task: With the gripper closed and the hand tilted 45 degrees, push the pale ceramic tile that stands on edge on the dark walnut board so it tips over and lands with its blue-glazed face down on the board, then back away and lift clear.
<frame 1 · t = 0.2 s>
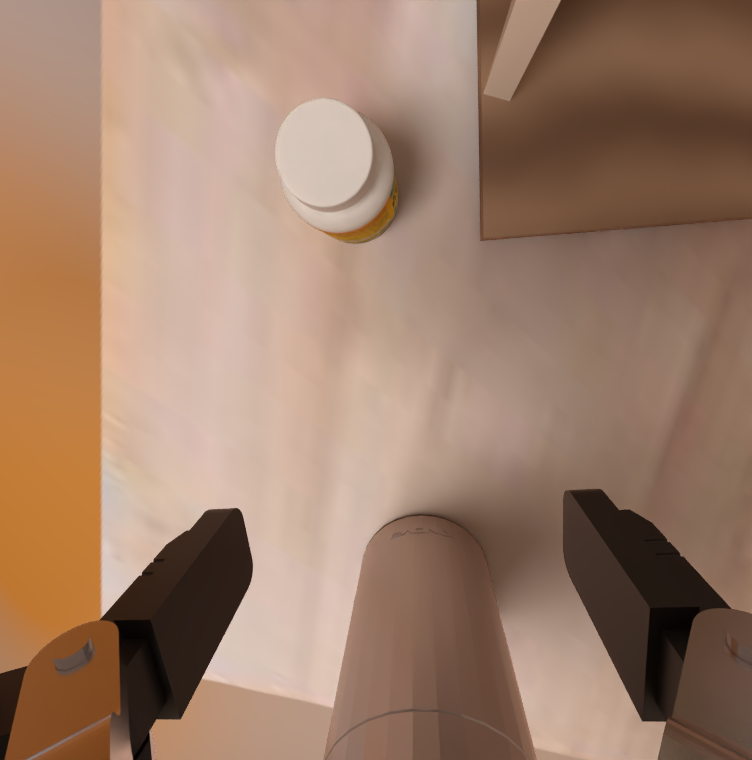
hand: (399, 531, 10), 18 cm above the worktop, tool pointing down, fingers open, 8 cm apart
supplement bottle: (356, 200, 26), on the worktop
board: (648, 11, 22), on the worktop
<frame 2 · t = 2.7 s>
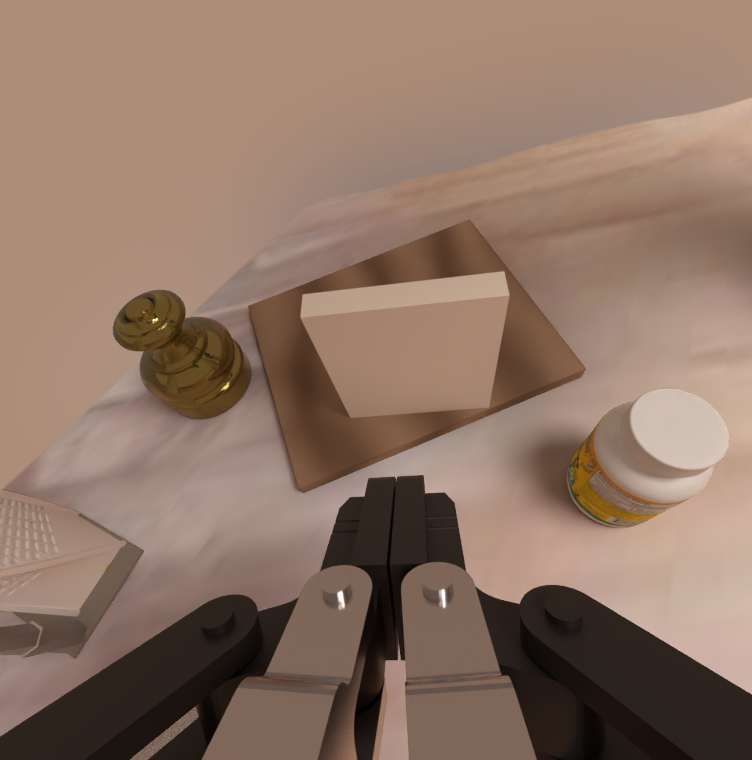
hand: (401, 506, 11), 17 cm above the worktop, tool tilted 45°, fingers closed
brass knob: (213, 382, 36), on the worktop
supplement bottle: (607, 486, 27), on the worktop
board: (398, 342, 35), on the worktop
skyscraper: (80, 567, 30), on the worktop
tile: (417, 403, 31), point 1 cm above the worktop, touching board
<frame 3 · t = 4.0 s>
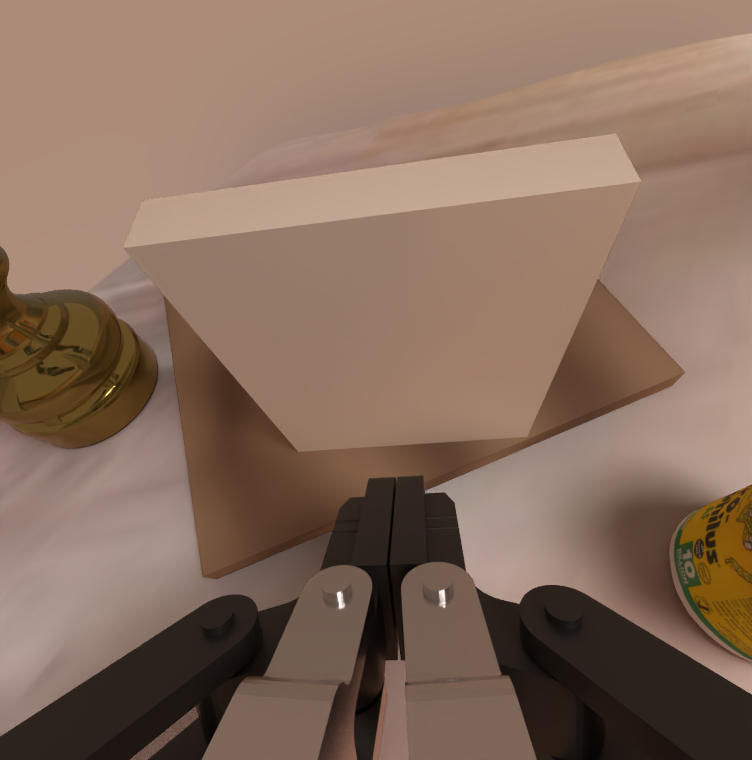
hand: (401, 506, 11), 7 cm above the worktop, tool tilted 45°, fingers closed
brass knob: (101, 391, 24), on the worktop
supplement bottle: (742, 580, 15), on the worktop
board: (380, 330, 23), on the worktop
tile: (408, 428, 19), point 1 cm above the worktop, touching board
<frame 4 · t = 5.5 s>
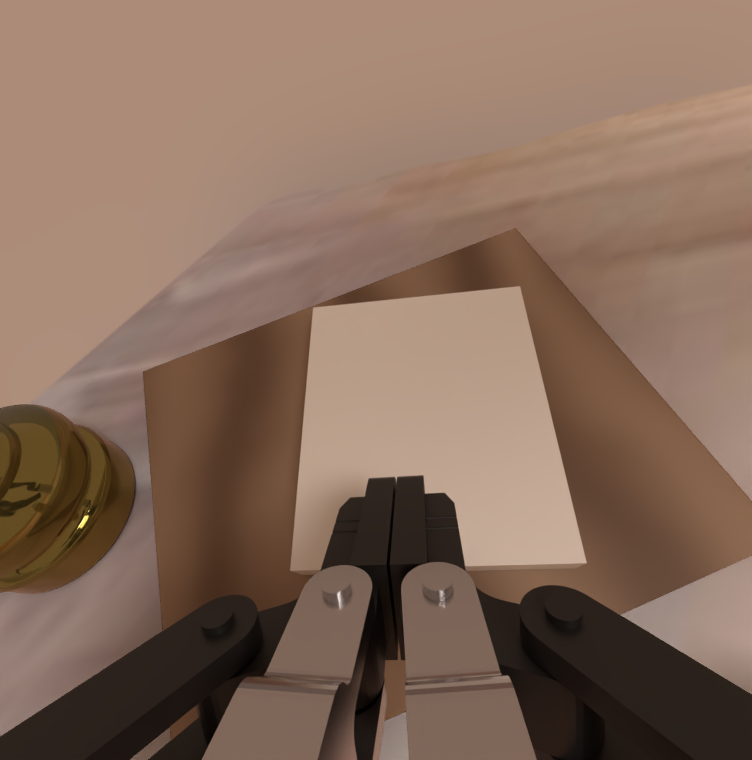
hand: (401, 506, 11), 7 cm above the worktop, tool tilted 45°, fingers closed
brass knob: (70, 511, 21), on the worktop
board: (397, 447, 19), on the worktop
tile: (432, 569, 15), point 2 cm above the worktop, tilted 90°, touching board
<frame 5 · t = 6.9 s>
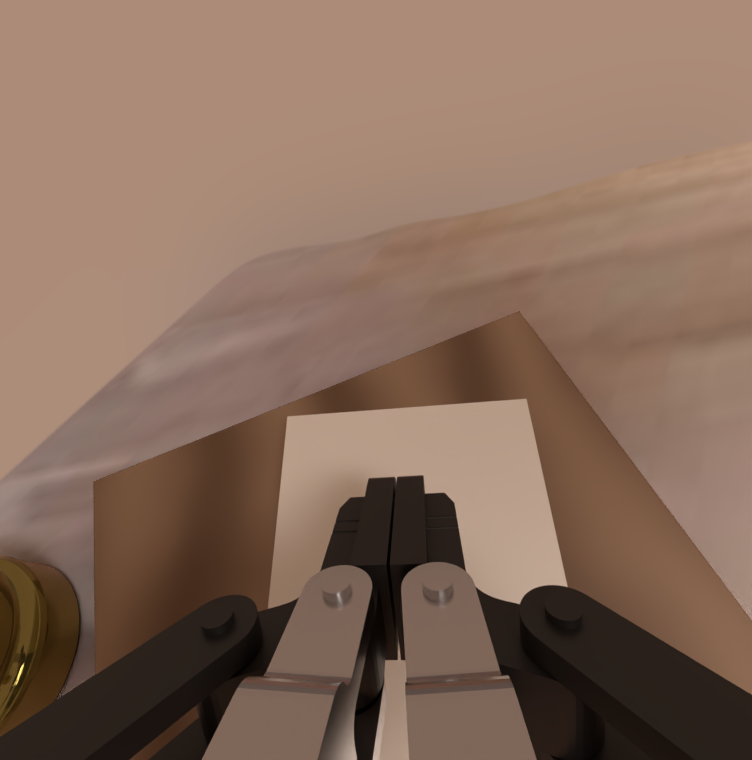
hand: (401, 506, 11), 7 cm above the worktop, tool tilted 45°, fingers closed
brass knob: (4, 656, 18), on the worktop
board: (384, 588, 17), on the worktop
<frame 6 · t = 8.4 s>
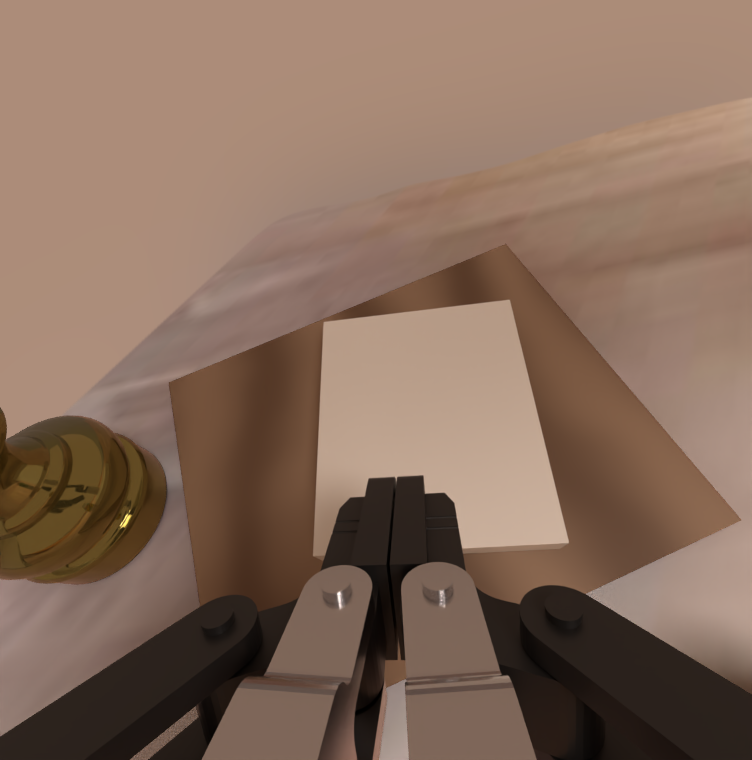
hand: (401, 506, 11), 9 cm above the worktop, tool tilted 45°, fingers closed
brass knob: (107, 511, 23), on the worktop
board: (402, 446, 22), on the worktop
tile: (436, 552, 17), point 2 cm above the worktop, tilted 90°, touching board
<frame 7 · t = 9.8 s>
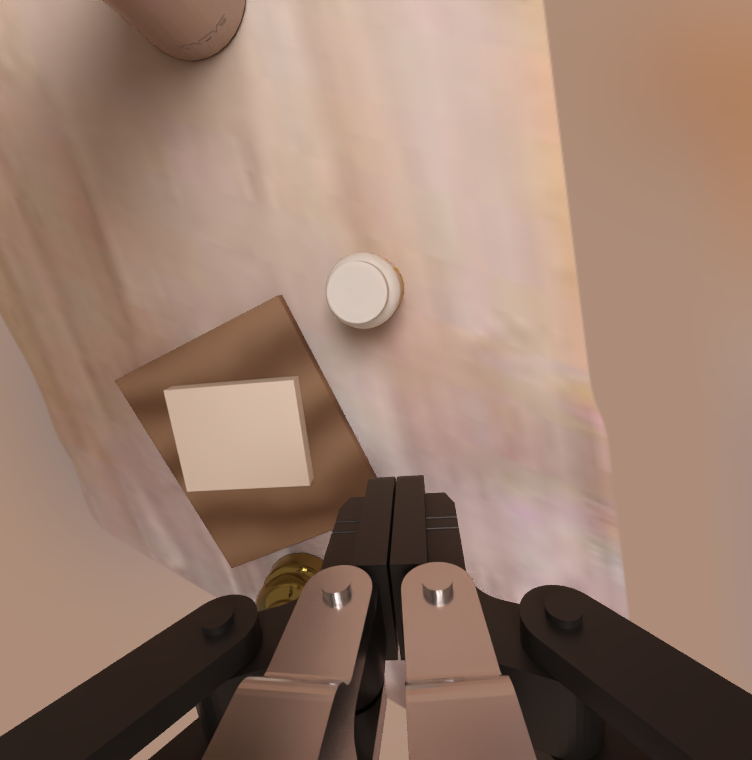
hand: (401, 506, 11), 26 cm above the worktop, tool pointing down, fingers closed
brass knob: (304, 579, 45), on the worktop
supplement bottle: (373, 288, 36), on the worktop
board: (257, 439, 41), on the worktop
tile: (304, 431, 38), point 2 cm above the worktop, tilted 90°, touching board
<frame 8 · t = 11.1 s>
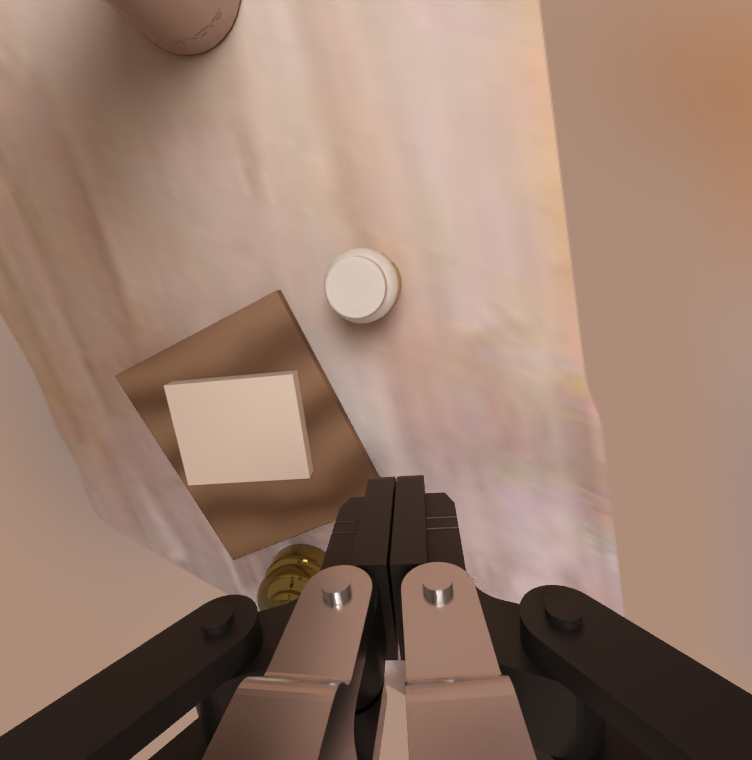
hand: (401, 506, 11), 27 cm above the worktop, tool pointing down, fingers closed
brass knob: (304, 570, 45), on the worktop
supplement bottle: (370, 282, 37), on the worktop
board: (257, 433, 41), on the worktop
tile: (303, 425, 38), point 2 cm above the worktop, tilted 90°, touching board
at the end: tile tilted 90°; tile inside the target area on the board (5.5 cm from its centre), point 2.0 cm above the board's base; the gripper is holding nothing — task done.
